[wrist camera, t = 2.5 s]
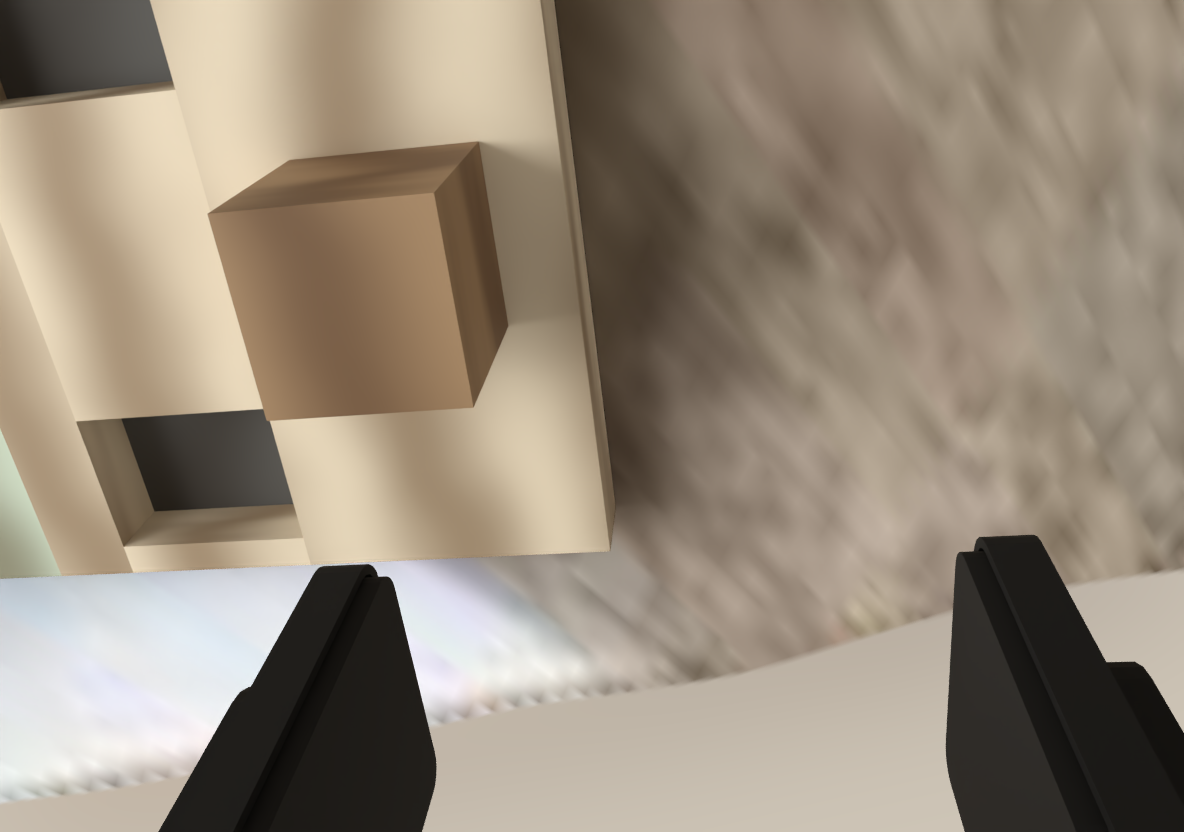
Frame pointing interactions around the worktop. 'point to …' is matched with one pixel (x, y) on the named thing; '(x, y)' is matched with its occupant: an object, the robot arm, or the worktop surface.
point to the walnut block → (366, 281)
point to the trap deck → (204, 305)
